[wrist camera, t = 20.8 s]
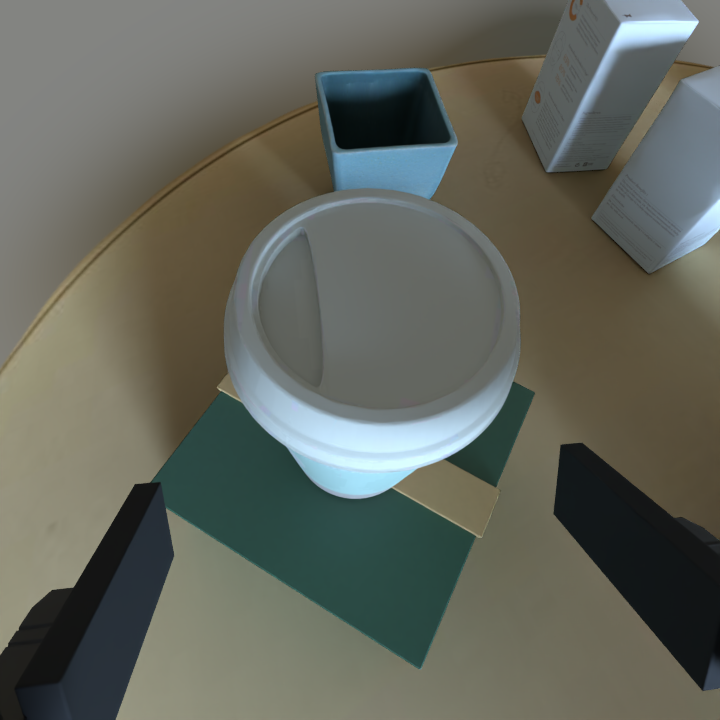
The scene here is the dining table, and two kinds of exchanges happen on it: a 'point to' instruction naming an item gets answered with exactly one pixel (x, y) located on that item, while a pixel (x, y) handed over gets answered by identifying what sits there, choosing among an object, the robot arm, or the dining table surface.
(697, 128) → the white packaging box
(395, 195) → the coffee cup
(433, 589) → the green parcel box
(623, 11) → the small box
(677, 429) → the dining table surface
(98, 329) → the dining table surface
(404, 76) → the flower pot
